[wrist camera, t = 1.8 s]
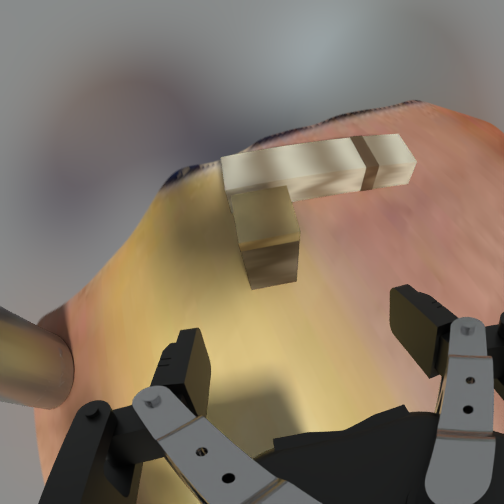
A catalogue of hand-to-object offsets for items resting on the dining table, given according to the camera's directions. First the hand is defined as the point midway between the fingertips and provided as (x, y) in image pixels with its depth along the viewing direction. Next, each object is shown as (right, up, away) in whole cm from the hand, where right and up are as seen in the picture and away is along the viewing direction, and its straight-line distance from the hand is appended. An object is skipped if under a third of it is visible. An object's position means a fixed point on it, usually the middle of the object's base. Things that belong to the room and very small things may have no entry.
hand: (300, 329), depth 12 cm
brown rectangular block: (0, +2, +19) cm, 19 cm away
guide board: (+6, +12, +23) cm, 27 cm away
